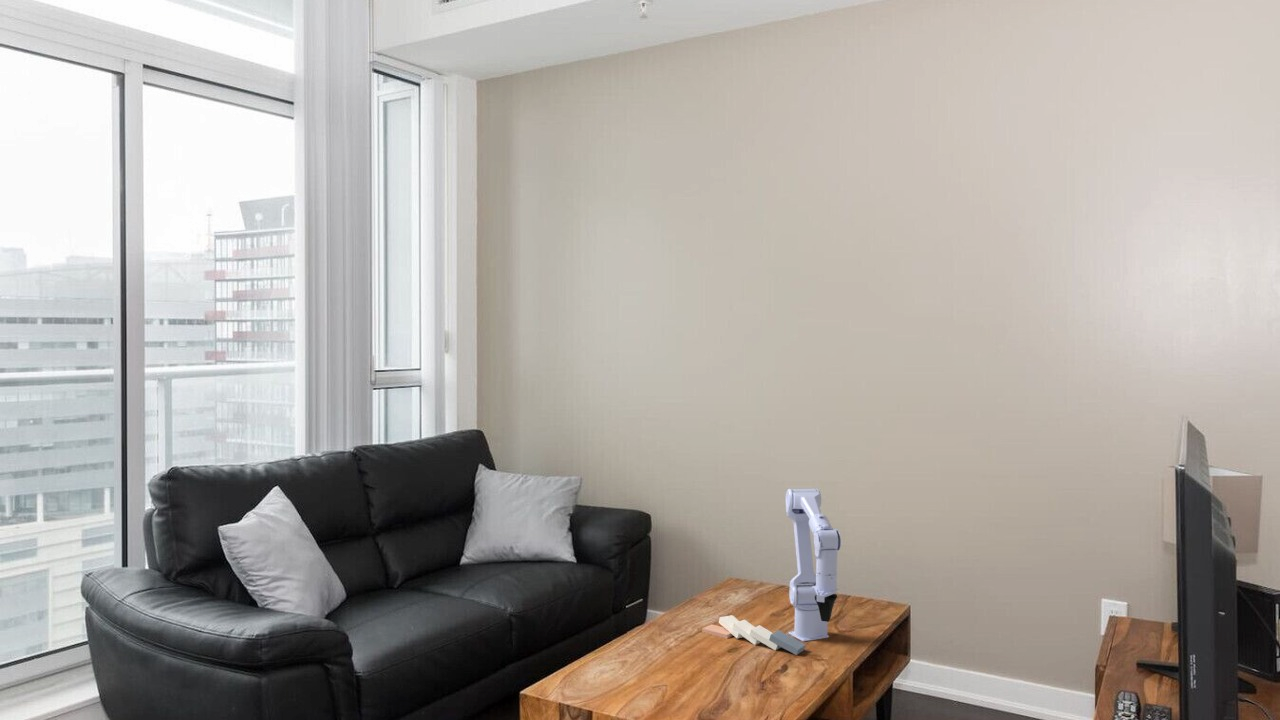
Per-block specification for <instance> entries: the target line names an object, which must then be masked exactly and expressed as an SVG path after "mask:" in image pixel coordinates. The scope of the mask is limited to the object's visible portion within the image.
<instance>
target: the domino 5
mask: <svg viewBox="0 0 1280 720" xmlns="http://www.w3.org/2000/svg"><path fill="white" fill-rule="evenodd" d="M772 633H773V634H771V635H770V639H769V640H770V641H771V642H773V643H775V644H777V645H779V646H780V647H781V648H782V649H784V650H785V651H788V652H789V653H791V654H793V655H796V656H798V655H799V654H800V653H803V652H804V651H805V648H806V644H805V642H804V643H803V641H801V640H799V639H797V638H795V637H794V636H792V635H790V634H787V633H785V632H783V631H781V630H779V629H778V630H776V631H775V632H772Z"/></svg>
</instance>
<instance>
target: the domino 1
mask: <svg viewBox="0 0 1280 720" xmlns="http://www.w3.org/2000/svg"><path fill="white" fill-rule="evenodd" d="M701 632H702V633H704V632H705V633H704V634H707V633H709V634H708V635H711V634H712V635H713V636H715V635H716V636H715V637H719V638H722V637H723V639H729V638H731V637H733V635H732V634H731V633H730V632H729V631H728V630H727V629H725V628H724V627H723V626H719V625H716V624H712V623H711V624H709V625H707V626H705V627H702V628H701ZM712 635H711V636H712Z"/></svg>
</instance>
